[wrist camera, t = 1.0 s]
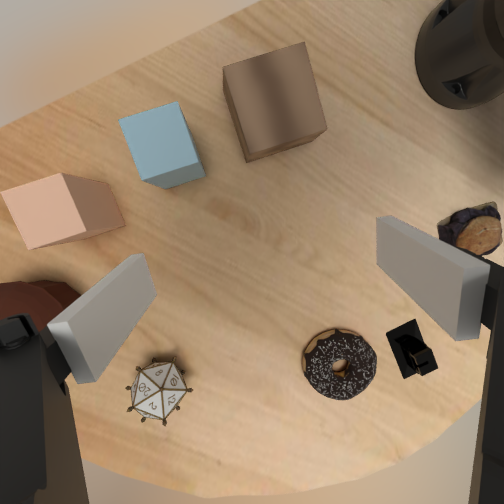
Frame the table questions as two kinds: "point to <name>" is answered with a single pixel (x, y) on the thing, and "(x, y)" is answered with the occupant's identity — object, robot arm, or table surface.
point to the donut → (331, 350)
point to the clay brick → (62, 210)
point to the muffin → (36, 300)
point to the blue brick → (162, 146)
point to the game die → (158, 390)
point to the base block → (273, 101)
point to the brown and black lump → (473, 229)
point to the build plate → (411, 350)
